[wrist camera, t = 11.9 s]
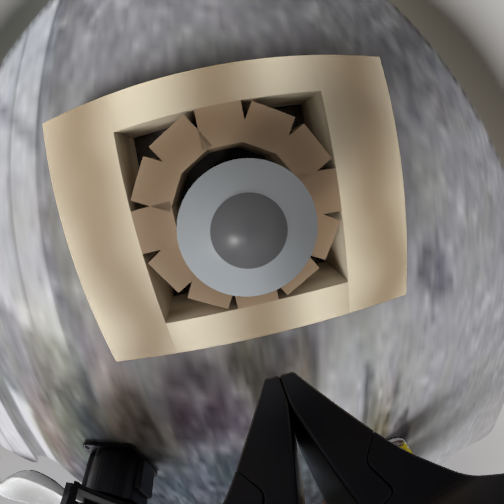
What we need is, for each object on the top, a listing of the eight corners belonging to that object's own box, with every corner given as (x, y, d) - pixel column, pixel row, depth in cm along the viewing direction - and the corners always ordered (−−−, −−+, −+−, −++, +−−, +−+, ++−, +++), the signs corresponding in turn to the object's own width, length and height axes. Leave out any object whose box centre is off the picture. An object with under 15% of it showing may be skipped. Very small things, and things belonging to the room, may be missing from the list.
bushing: (205, 245, 17) (196, 311, 9) (187, 171, 16) (160, 176, 8) (278, 229, 17) (326, 280, 10) (264, 155, 16) (307, 146, 8)
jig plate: (129, 331, 18) (116, 361, 15) (71, 129, 14) (42, 123, 11) (379, 274, 19) (405, 294, 16) (352, 72, 15) (379, 56, 12)
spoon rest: (54, 468, 24) (43, 504, 17) (92, 502, 27) (85, 533, 21) (-29, 437, 22) (-42, 461, 15) (5, 474, 25) (-5, 497, 19)
